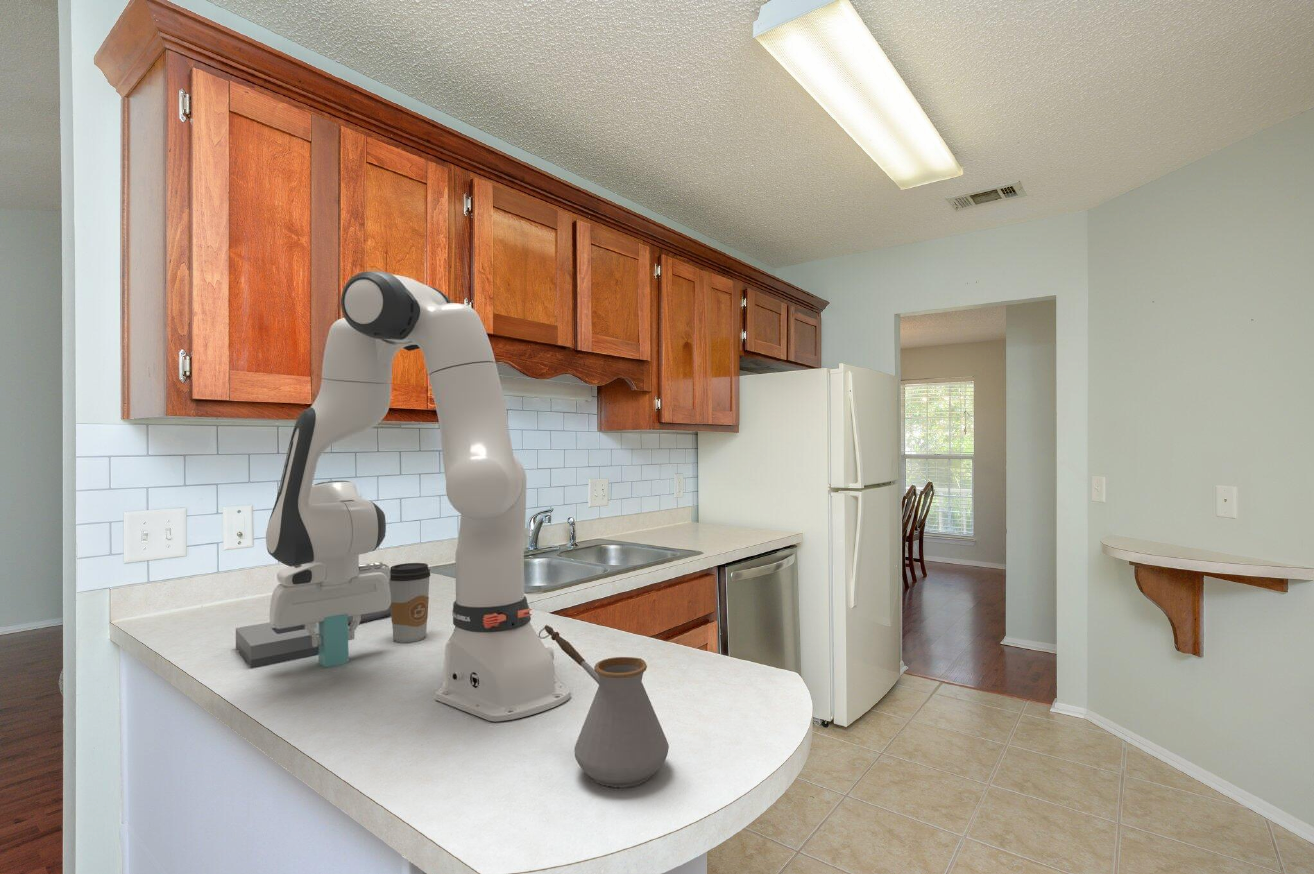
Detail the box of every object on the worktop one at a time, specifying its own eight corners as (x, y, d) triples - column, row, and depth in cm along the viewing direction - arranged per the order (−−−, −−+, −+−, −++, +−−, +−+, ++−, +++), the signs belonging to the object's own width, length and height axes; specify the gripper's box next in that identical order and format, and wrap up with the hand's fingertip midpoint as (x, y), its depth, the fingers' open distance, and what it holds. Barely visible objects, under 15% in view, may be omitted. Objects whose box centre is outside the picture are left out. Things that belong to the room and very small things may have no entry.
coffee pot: (688, 769, 78) (687, 646, 79) (619, 809, 70) (617, 670, 70) (577, 719, 93) (576, 615, 93) (509, 747, 85) (508, 633, 85)
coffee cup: (402, 647, 128) (402, 571, 128) (380, 639, 133) (379, 567, 133) (439, 636, 135) (438, 565, 135) (416, 630, 140) (415, 561, 140)
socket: (345, 648, 128) (345, 628, 128) (251, 668, 117) (250, 646, 117) (323, 631, 140) (322, 613, 140) (235, 648, 129) (235, 628, 129)
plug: (348, 662, 119) (348, 613, 120) (324, 667, 117) (324, 617, 117) (341, 657, 122) (341, 609, 123) (318, 662, 120) (318, 613, 120)
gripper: (384, 558, 129) (385, 628, 129) (267, 573, 116) (267, 650, 115) (395, 562, 124) (396, 634, 124) (274, 578, 111) (275, 659, 111)
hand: (333, 642), depth 120 cm, fingers closed on plug, 4 cm apart
